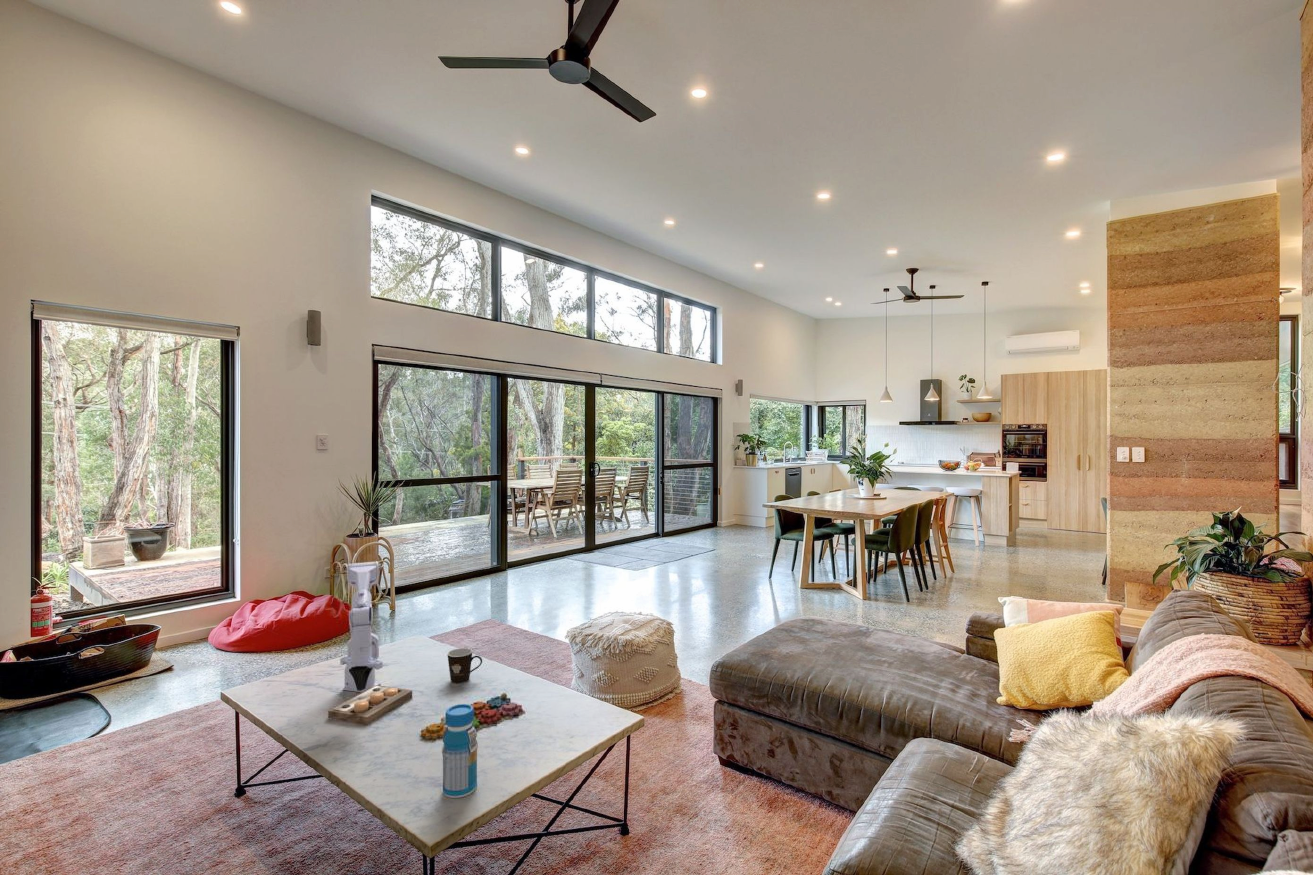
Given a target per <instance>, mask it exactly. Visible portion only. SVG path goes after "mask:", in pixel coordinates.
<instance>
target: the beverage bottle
mask: <svg viewBox="0 0 1313 875" xmlns="http://www.w3.org/2000/svg"><path fill="white" fill-rule="evenodd" d="M445 717H446V725H445V726H446V727H447V728H446V730H445V732H444V735H443V737H442V739H441V740H442V743H443V744H442V747H441V754H442V793H443V795H444V796H446V797H448V798H452V799H459V798H463V797H464V798H465V797H466V796H467V797H468V796H469V795H470V794H472V793H473V792H474V791H475V790H476V789H477V786H478V744H479V743H478V740H477V737H478V730H477V731H476V729H475V727H474V725H473V724H472V723H473V720H474V708H473V706H471V704H469V703H459V704H454V705H452V706H450V707H448V708H447V709H446V710H445Z"/></svg>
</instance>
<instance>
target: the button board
mask: <svg viewBox="0 0 1313 875" xmlns="http://www.w3.org/2000/svg"><path fill="white" fill-rule="evenodd" d="M390 688H394V687H391V686H385V685H375V686H373V687H371V688H369V689H367V690H366V691H364V692H359V693H358V694H356V695H355V696H353V697H351V698H349V699H347V700H345V701H344V702H342V703H339V704H338V705H336V706H333V707H332V708H330V709H329V710H328V711H327V712H328V713H327V719H328V718H331V719H330V720H333V719H336V720H335V721H340V722H345V723H351V724H357V725H363V726H369V725H370V724H372V723H374V722H375V721H377V720H378V719H381V717H383V716H386V714H388V713H391V711H394V710H395V709H396V708H398V707H399V706H401V705H403V704H405V703H407V702H408V701H409V700H411V699H412V698H413V690H412V689H405V688H400V687H399V688H398V687H396V688H397V689H398V694H396V695H394V696H392V697H391V696H385V690H387V689H390ZM376 692H383V693H384V701H383V702H382V703H379V704H370V695H371V694H373V693H376ZM359 701H368V703H369V709H368V711H366V712H364V713H355V712H354V704H355V703H356V702H359Z"/></svg>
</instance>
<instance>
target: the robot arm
mask: <svg viewBox="0 0 1313 875" xmlns="http://www.w3.org/2000/svg"><path fill="white" fill-rule="evenodd" d="M379 572H380V571H379V562H378V561H377V560H376V561H367V562H356V563H355V562H354V563H348V564H347V565H346V581H347V584H348V586H349V587H352V588H353V587H354V589H355V592H354V593H353V594H352V596H351V609H349V613H348V621H349V622H348V623H349V624H348V625H349V630H350V633H349V634H350V639H348V643H347V656H342V657H341V658H340V659H339V661H340V662H339V664H340V666H343V665H345V667H344V687H343V688H342V690H343V691H349V692H355V693H362V692H364V691H366V690H367V689H369V688H371V687H373V686H375V685H379V686H381V684H382V683H381V682H380V681H376V670H377V671H378V670H380V669H383V661H382V660H378V659H379V658H380V642H379V637H378V635H377V634H375V633H373V632H372V625H373V621H374V620H373V618H374V616H373V615H374V614H373V613H374V612H373V611H374V610H373V604H372V593H371V589H372V586H374V585H376V584H378V582H379V576H380V575H379Z"/></svg>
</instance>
